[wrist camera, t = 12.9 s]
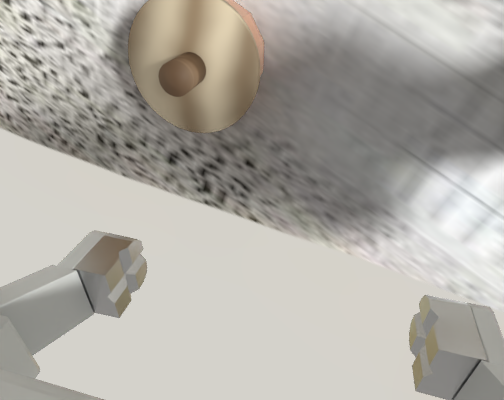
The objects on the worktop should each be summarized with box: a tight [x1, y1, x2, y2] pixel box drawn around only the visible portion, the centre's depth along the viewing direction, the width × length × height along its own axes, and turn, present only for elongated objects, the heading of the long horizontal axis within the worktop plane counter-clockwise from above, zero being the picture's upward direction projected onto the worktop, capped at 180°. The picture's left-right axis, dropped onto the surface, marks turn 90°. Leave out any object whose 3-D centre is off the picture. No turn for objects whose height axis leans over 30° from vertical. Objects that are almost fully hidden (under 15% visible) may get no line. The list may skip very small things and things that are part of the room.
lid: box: [128, 0, 261, 133], centre depth 34 cm, size 14×14×5 cm
